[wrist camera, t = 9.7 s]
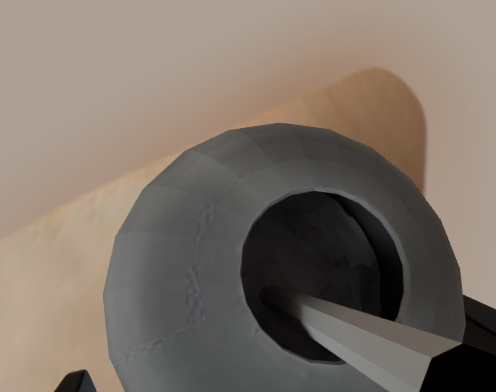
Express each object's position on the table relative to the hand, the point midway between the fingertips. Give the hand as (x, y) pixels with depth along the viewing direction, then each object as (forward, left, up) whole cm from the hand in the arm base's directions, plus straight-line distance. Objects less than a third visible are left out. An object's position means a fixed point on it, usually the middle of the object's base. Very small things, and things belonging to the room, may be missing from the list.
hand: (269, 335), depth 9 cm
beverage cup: (+1, 0, -10) cm, 10 cm away
